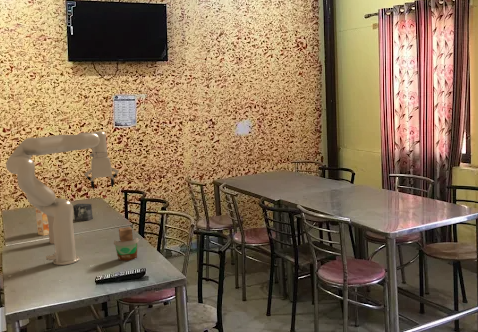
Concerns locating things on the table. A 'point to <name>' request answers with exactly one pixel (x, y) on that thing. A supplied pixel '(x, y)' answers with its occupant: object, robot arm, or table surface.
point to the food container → (126, 249)
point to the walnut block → (125, 234)
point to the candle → (51, 229)
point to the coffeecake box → (42, 223)
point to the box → (83, 212)
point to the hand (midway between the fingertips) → (102, 187)
